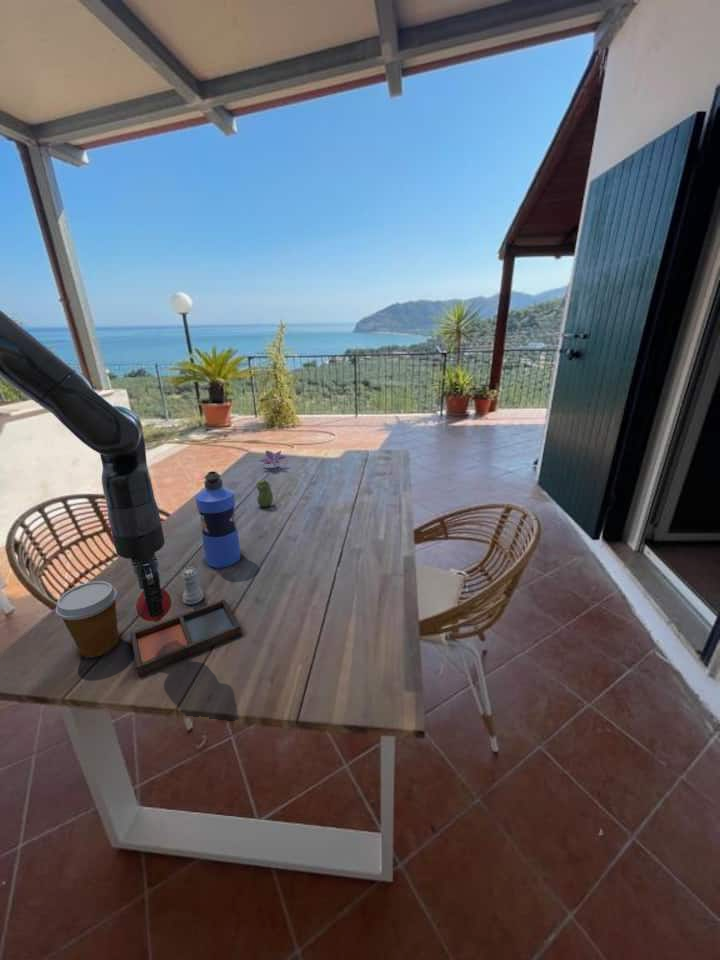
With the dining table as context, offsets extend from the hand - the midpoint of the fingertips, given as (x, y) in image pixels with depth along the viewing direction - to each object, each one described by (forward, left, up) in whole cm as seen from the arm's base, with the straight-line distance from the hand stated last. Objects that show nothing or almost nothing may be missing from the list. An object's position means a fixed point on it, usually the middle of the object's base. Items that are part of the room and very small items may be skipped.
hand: (153, 604), depth 73 cm
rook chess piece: (+8, +12, -10) cm, 18 cm away
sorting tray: (+4, 0, -10) cm, 11 cm away
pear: (+42, +53, -10) cm, 69 cm away
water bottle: (+19, +26, -10) cm, 34 cm away
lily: (+62, +91, -10) cm, 110 cm away
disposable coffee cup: (-10, +8, -10) cm, 16 cm away
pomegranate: (0, 0, -4) cm, 4 cm away
